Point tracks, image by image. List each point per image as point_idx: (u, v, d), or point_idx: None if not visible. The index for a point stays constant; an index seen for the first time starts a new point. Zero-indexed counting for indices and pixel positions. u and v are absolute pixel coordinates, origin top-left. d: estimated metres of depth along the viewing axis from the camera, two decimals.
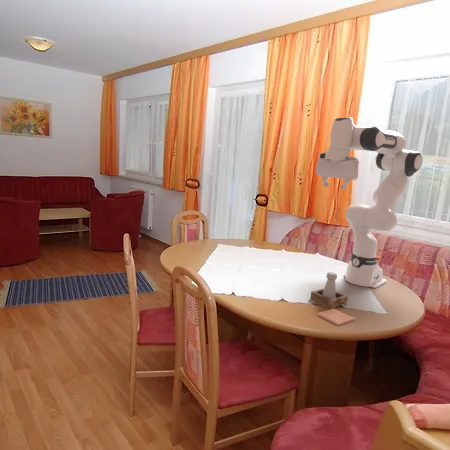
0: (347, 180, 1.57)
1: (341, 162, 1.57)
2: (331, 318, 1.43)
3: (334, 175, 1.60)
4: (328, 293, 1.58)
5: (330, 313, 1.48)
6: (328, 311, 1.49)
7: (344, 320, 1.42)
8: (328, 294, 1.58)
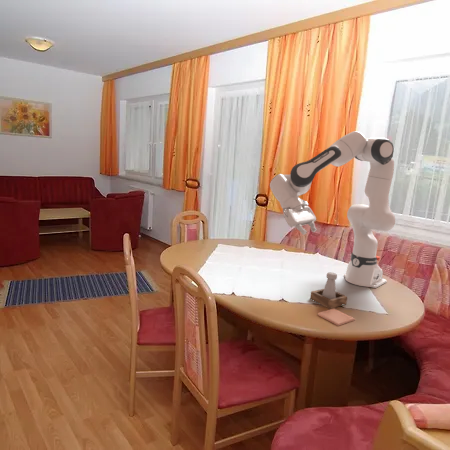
0: (298, 226, 1.59)
1: None
2: (331, 318, 1.43)
3: None
4: (328, 293, 1.58)
5: (330, 313, 1.48)
6: (328, 311, 1.49)
7: (344, 320, 1.42)
8: (328, 294, 1.58)
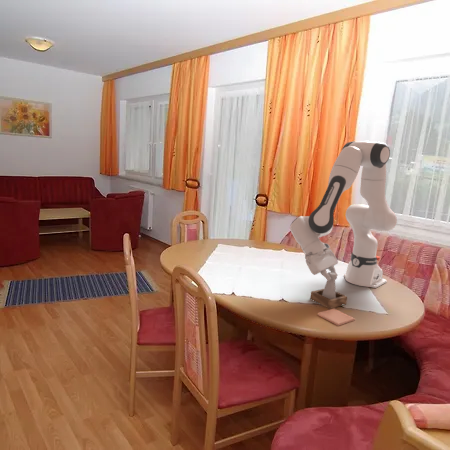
0: (323, 272, 1.56)
1: None
2: (331, 318, 1.43)
3: None
4: (328, 293, 1.58)
5: (330, 313, 1.48)
6: (328, 311, 1.49)
7: (344, 320, 1.42)
8: (328, 294, 1.58)
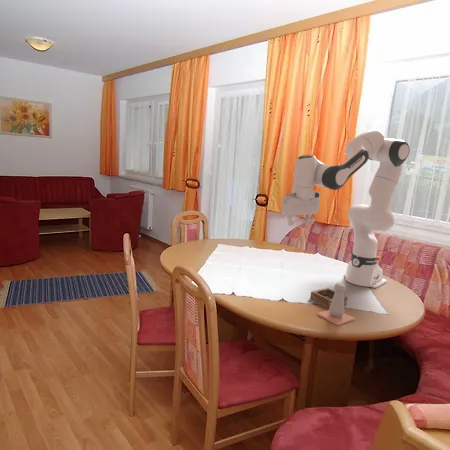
0: (288, 216, 1.59)
1: None
2: (331, 318, 1.43)
3: None
4: (336, 306, 1.43)
5: None
6: (328, 311, 1.49)
7: (344, 320, 1.42)
8: (336, 307, 1.43)
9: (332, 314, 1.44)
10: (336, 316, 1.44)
